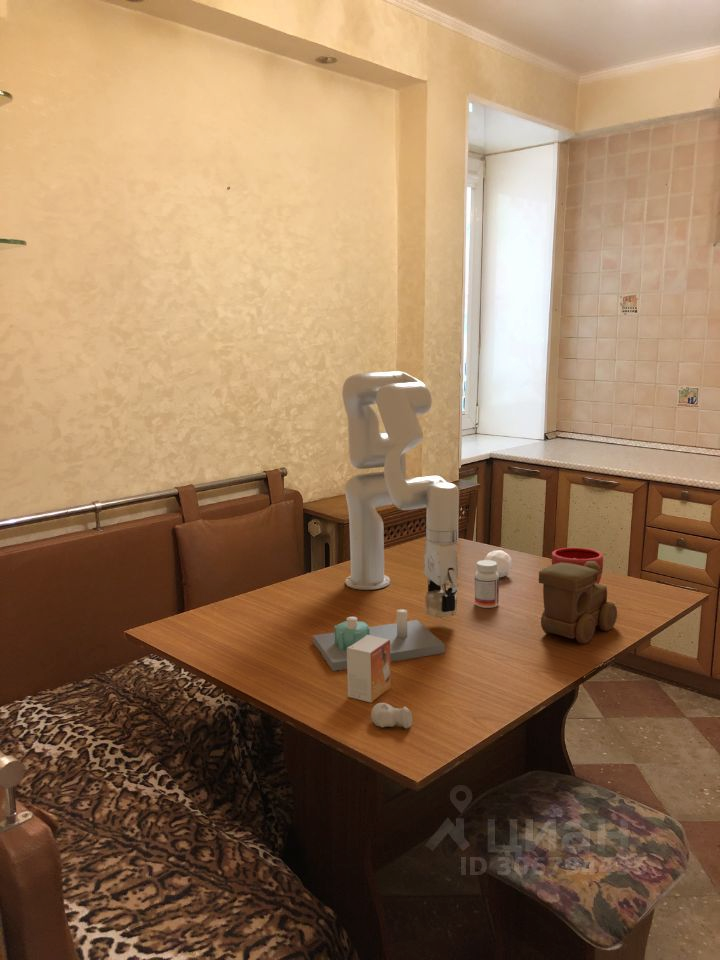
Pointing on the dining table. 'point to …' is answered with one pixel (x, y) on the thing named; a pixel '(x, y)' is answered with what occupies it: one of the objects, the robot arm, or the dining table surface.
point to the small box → (368, 668)
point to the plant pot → (578, 557)
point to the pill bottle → (486, 584)
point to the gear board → (403, 637)
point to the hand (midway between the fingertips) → (441, 604)
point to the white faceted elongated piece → (500, 562)
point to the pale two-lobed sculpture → (391, 715)
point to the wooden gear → (437, 604)
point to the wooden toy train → (575, 601)
